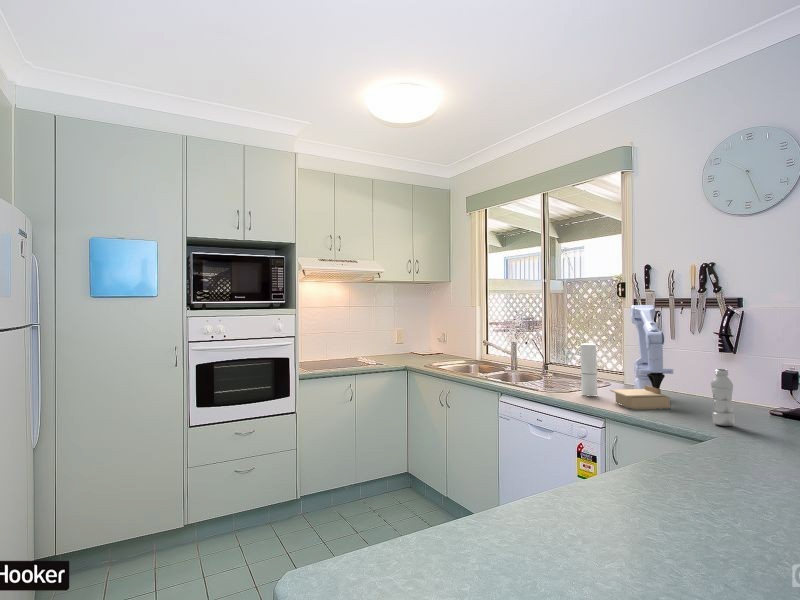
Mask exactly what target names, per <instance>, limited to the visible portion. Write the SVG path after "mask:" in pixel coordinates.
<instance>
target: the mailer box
mask: <svg viewBox="0 0 800 600" xmlns="http://www.w3.org/2000/svg"><path fill="white" fill-rule="evenodd" d="M663 395H664V396H650V397H625V396H622V395H620V394H617V393H615V403H616V402H617V403H616V404H618V403H620V404H622V405H621V406H623V405H624V406H623V407H625V406H626V407H625V408H627V407H628V409H630V408H631V409H630V410H632V409H635V410H657V409H656V408H670V409H671V404H670V403H671V400H670V397H671V396H668V395H665V394H663ZM620 404H619V405H620Z"/></svg>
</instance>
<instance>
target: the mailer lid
mask: <svg viewBox="0 0 800 600" xmlns="http://www.w3.org/2000/svg"><path fill="white" fill-rule="evenodd" d="M610 392H612V393H614V394H616V393H617V394H620V395H622V396H625V397H650V396H664V395H665V394H662V393H661V389H660V388H659V389H658V388H655V387H651V386H648V385H645V389H635V388H632V389H631V388H630V389H629V388H627V389H626V388H625V389H624V388H623V389H621V388H620V389H610Z"/></svg>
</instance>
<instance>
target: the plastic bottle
mask: <svg viewBox="0 0 800 600" xmlns="http://www.w3.org/2000/svg"><path fill="white" fill-rule="evenodd" d="M714 375H715V376H714V378H713V379H712V381H710V387H711V392H712V398H713V400H712V401H713V406H712V409H713V410H712V416H711V419H712V422H713V423H714V425H717V426H722V427H730V426H731V427H732V426H734V424H735V419H736V417H735V414H734V409H733V391H734V389H733V388H734V384H733V382H732V381H731V379H730V378H729V377H728V375H729V370H728V369H726V368H725V369H724V368H723V369H721V368H717V369H715V372H714Z"/></svg>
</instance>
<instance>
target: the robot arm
mask: <svg viewBox="0 0 800 600" xmlns="http://www.w3.org/2000/svg"><path fill="white" fill-rule="evenodd" d="M655 316H656V307H655V306H654V305H653V304H649V305H648V304H645V305H644V304H641V305H634V304H632V305H631V306H630V319H631V323H632V324H633V325H635V328H636V333H637V334H636V335H637V341H638V342H637V343H638V344H637V345H638V353H639V358H637V359H636V360H635V361H634V363H633V374H634V376H635V380H634V389H645V385H648V386H651V387H655V388H658V389H660V388H661V384H662V383H663V380H664V378H665V377H666V374H670V375H671V374H674V368H664V356H663V355H664V354H663V352H664V351H663V349H664V348H663V347H664V345H665V344H664V343H665V335H664V332H663V331H662V330H660V328H659V326H658V323H657V322H655V321H654V318H655Z"/></svg>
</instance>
